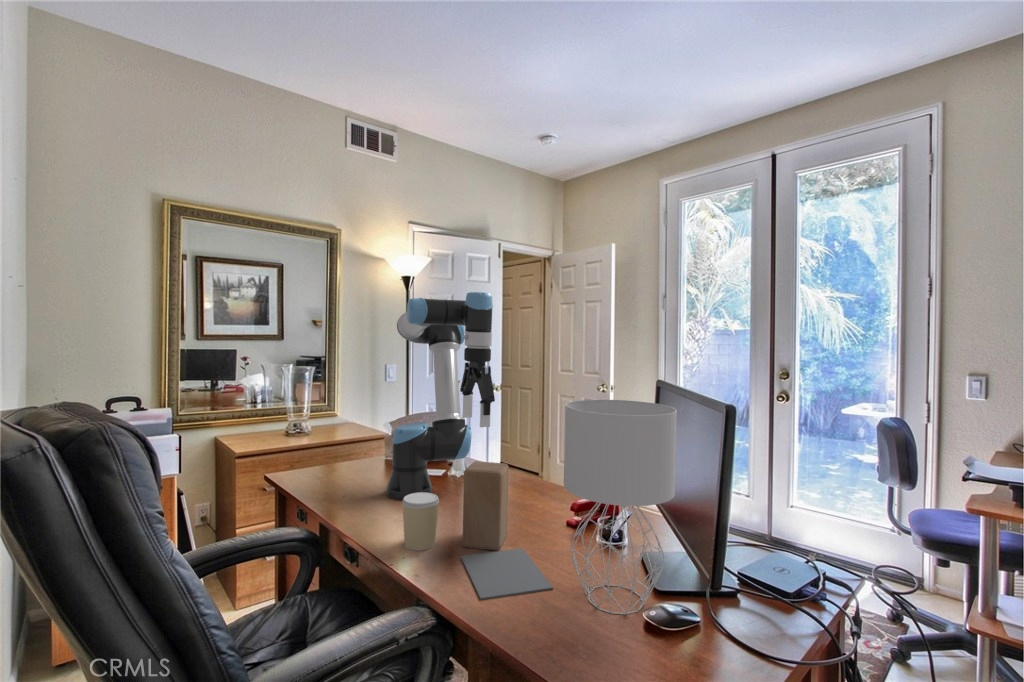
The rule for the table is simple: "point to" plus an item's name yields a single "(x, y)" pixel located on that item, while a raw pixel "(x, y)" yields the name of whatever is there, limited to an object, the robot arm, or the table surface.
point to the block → (485, 505)
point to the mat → (504, 573)
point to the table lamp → (619, 469)
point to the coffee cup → (420, 520)
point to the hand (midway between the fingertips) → (475, 422)
